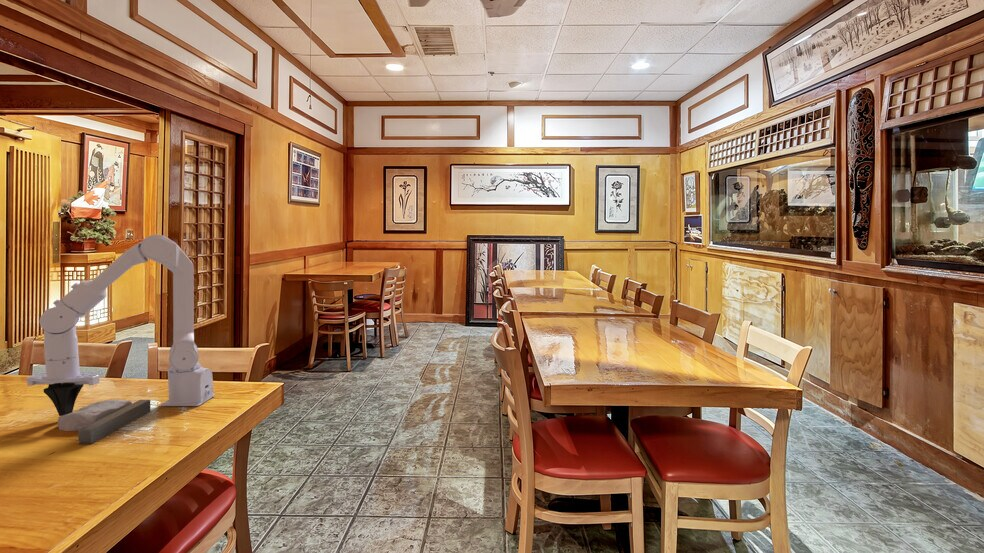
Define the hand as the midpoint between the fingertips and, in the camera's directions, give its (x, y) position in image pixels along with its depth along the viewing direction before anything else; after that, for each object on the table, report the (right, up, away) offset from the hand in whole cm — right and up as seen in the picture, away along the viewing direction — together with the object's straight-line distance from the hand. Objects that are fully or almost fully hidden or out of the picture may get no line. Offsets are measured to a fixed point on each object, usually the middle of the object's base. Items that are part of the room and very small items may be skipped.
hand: (65, 414), depth 107 cm
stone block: (+7, -2, 0) cm, 7 cm away
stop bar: (+15, -2, -3) cm, 15 cm away
